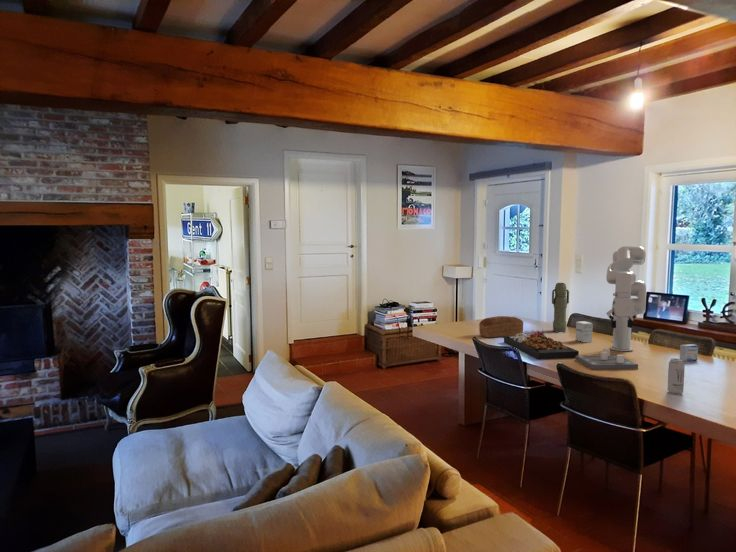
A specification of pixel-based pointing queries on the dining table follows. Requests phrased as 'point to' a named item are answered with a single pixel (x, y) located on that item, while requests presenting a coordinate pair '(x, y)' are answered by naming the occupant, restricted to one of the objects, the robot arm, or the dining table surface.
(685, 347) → the medicine box
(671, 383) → the energy drink can
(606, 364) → the switch board
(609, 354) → the handle
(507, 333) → the bread
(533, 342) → the food platter
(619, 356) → the handle
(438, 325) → the dining table surface
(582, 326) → the white ridged canister
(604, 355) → the handle middle
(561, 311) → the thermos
